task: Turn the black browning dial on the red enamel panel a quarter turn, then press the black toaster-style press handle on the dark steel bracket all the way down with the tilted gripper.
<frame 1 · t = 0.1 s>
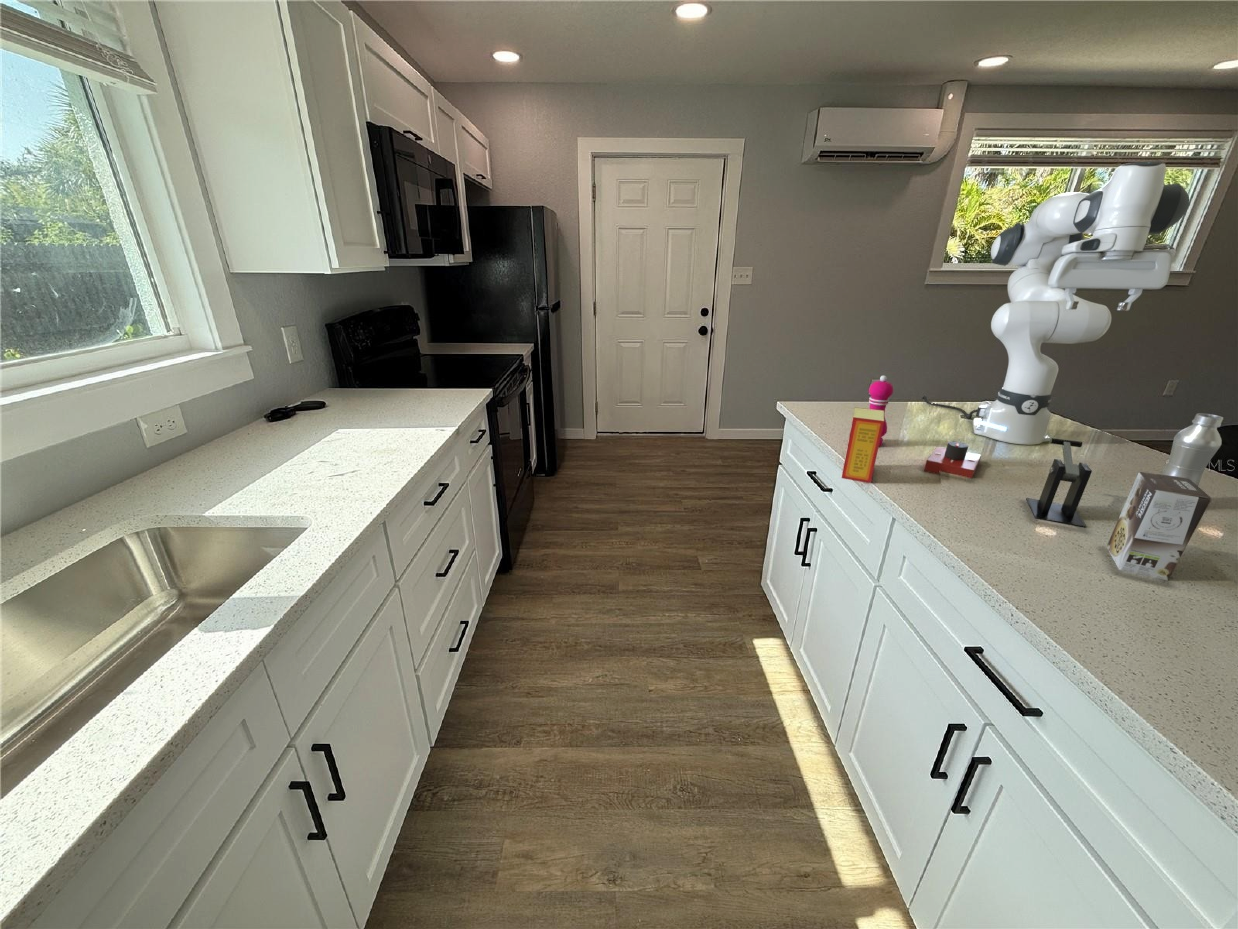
hand: (1096, 310, 112), 39 cm above the counter, tool pointing down, fingers open, 8 cm apart
coffee box: (1133, 567, 86), on the counter
dial panel: (951, 468, 126), on the counter
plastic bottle: (1167, 503, 108), on the counter
baking soda box: (856, 474, 123), on the counter
pepper mill: (869, 443, 143), on the counter
press lever: (1067, 458, 101), point 12 cm above the counter, hinge at 25.0°
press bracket: (1052, 516, 102), on the counter
dial: (956, 450, 124), point 5 cm above the counter, hinge at 0.0°
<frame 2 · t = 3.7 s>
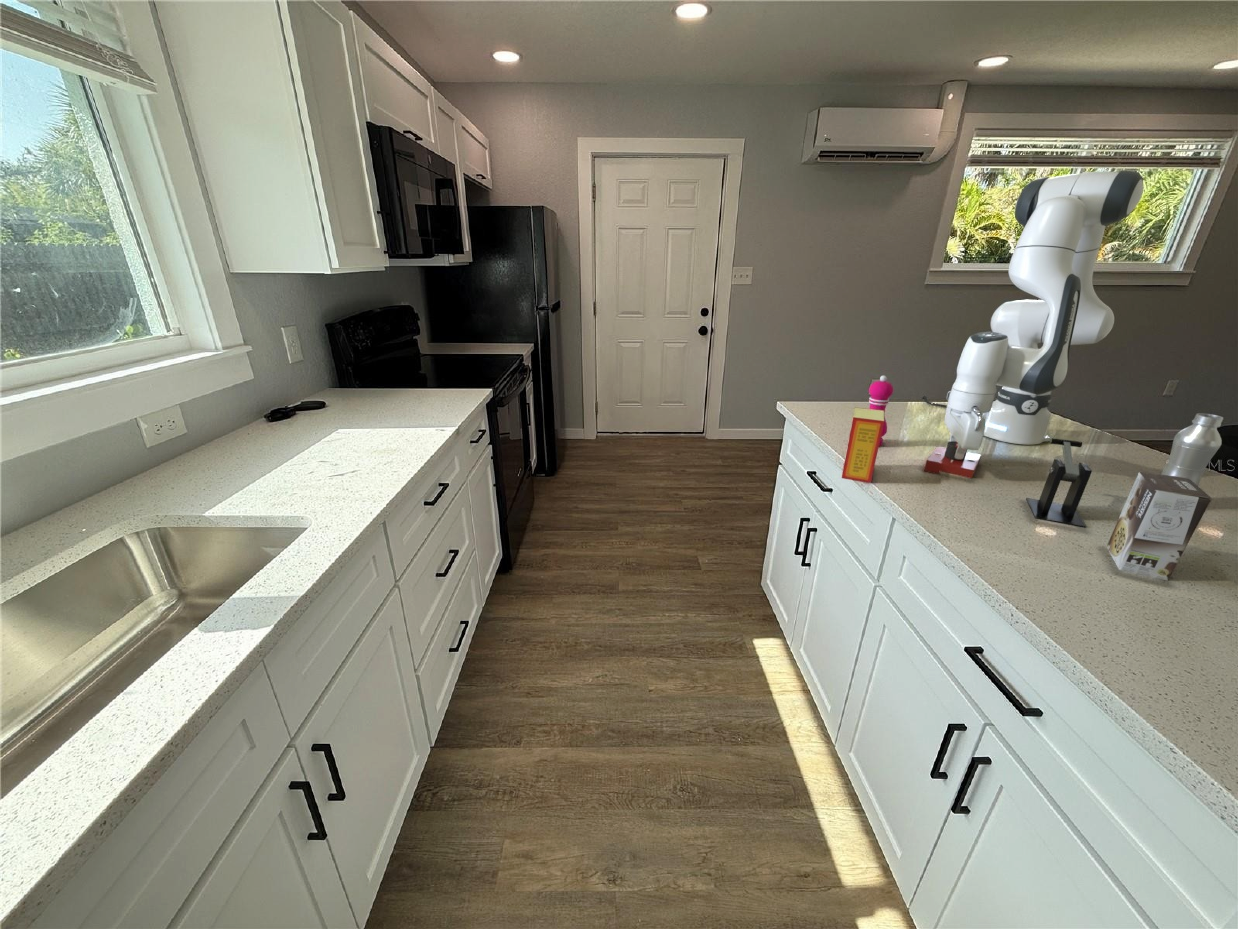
hand: (955, 454, 125), 4 cm above the counter, tool pointing down, fingers closed on dial, 4 cm apart
dial: (956, 450, 124), point 5 cm above the counter, hinge at -0.2°, touching gripper
everything else where it was.
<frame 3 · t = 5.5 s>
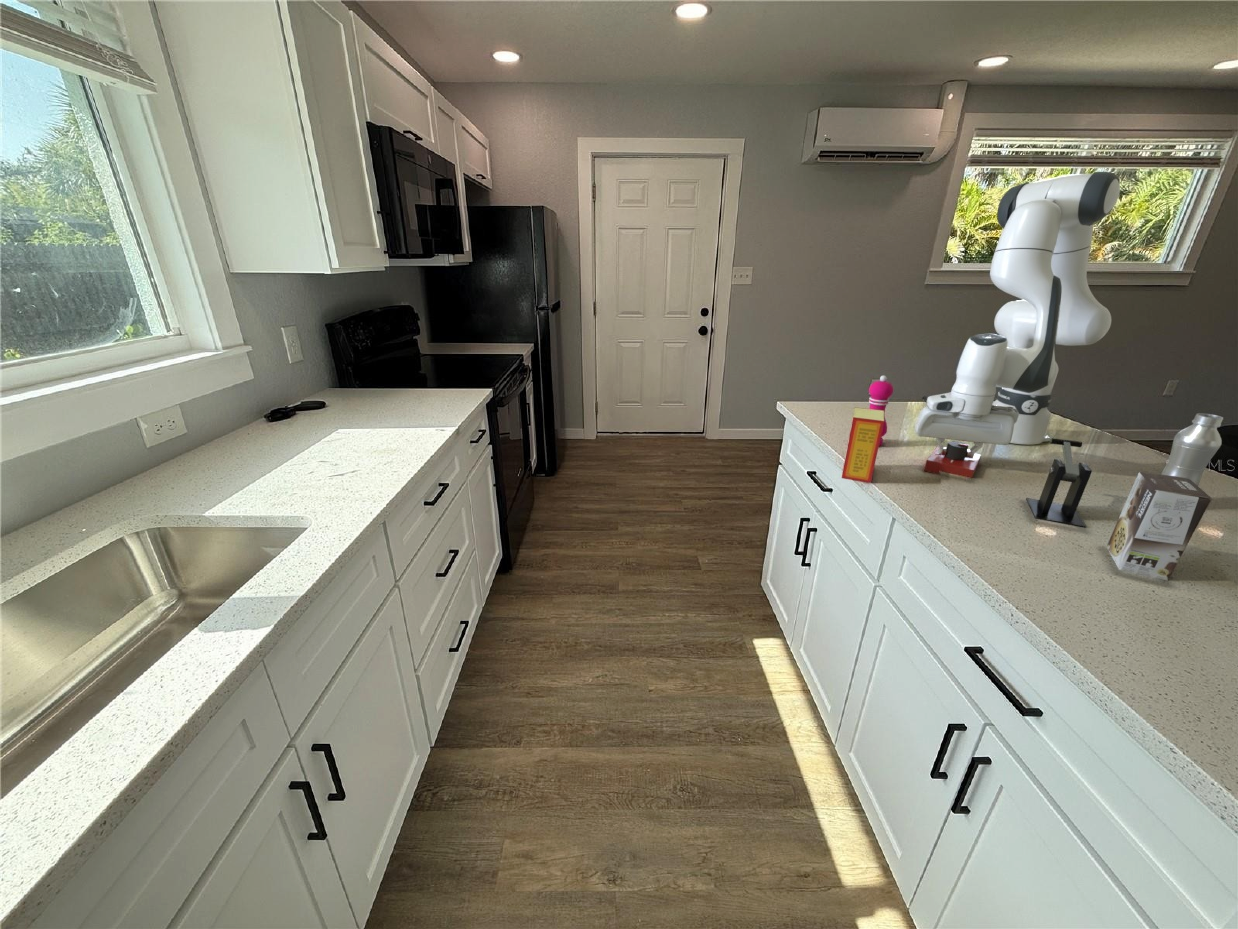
hand: (954, 455, 125), 3 cm above the counter, tool pointing down, fingers open, 4 cm apart
dial: (956, 450, 124), point 5 cm above the counter, hinge at 86.6°
everything else where it was.
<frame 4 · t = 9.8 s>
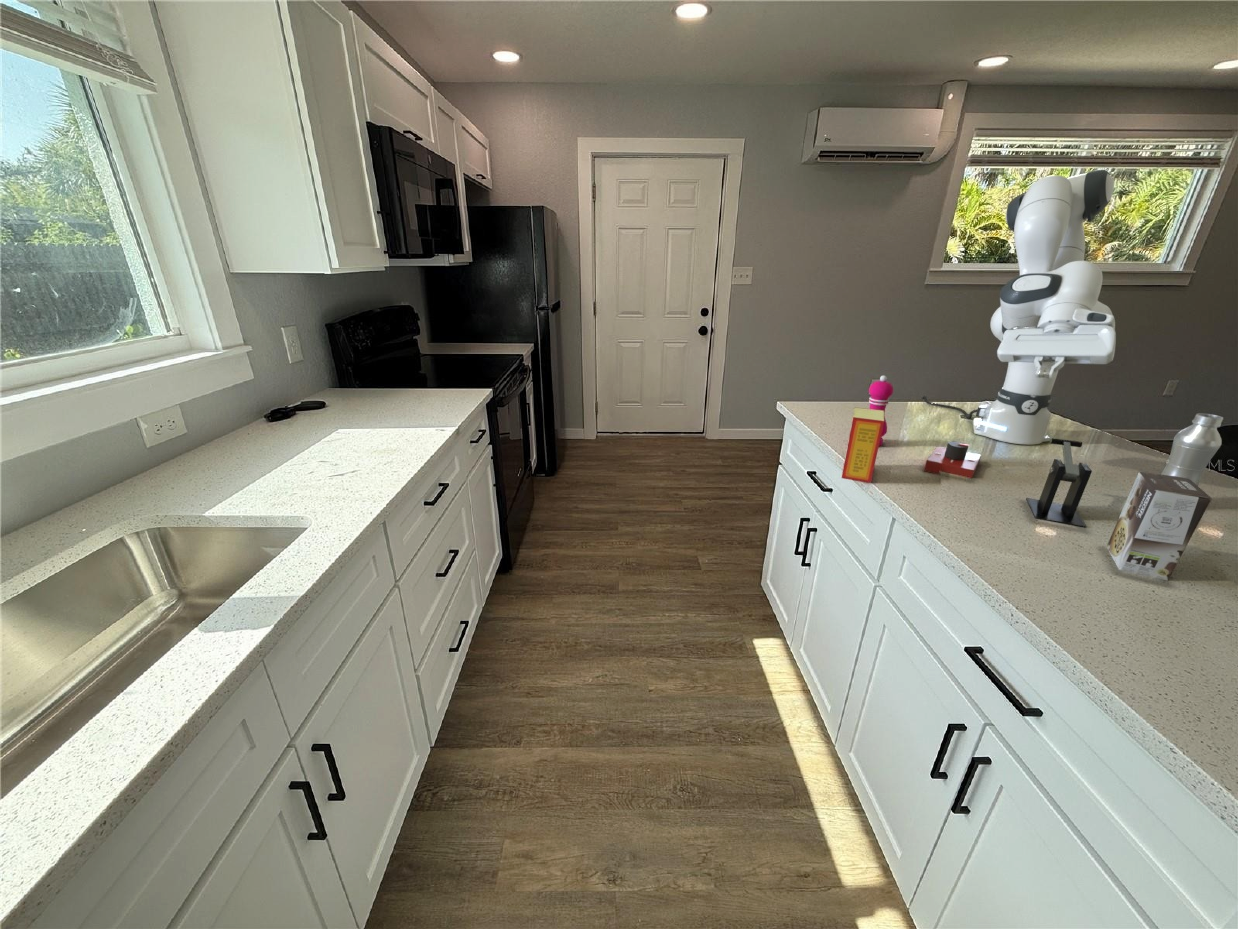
hand: (1043, 376, 110), 25 cm above the counter, tool tilted 40°, fingers closed
nothing on the counter moved.
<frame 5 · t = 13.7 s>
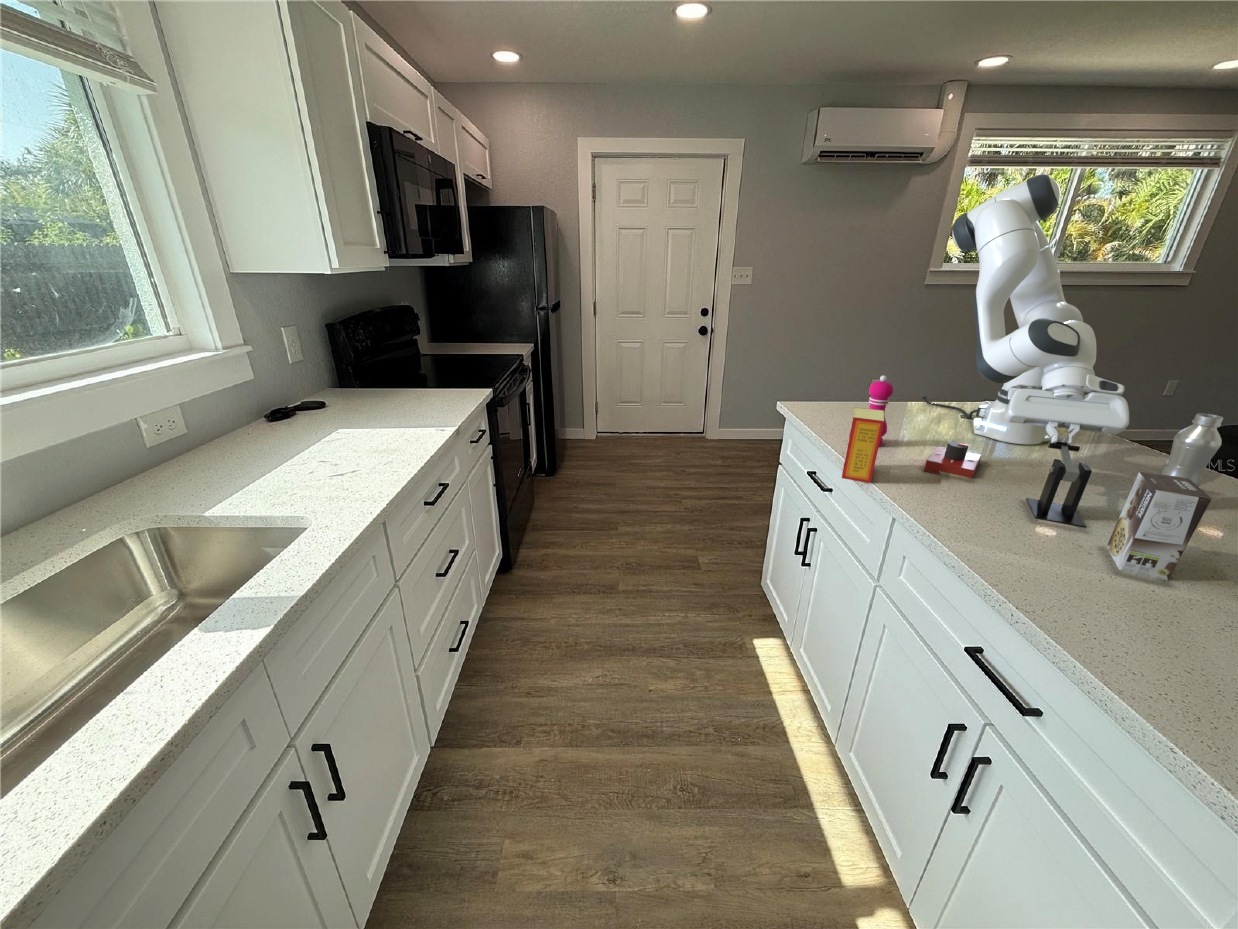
hand: (1061, 444, 105), 13 cm above the counter, tool tilted 45°, fingers closed, pressing on press lever
press lever: (1066, 460, 101), point 11 cm above the counter, hinge at 17.2°, touching gripper
everything else where it was.
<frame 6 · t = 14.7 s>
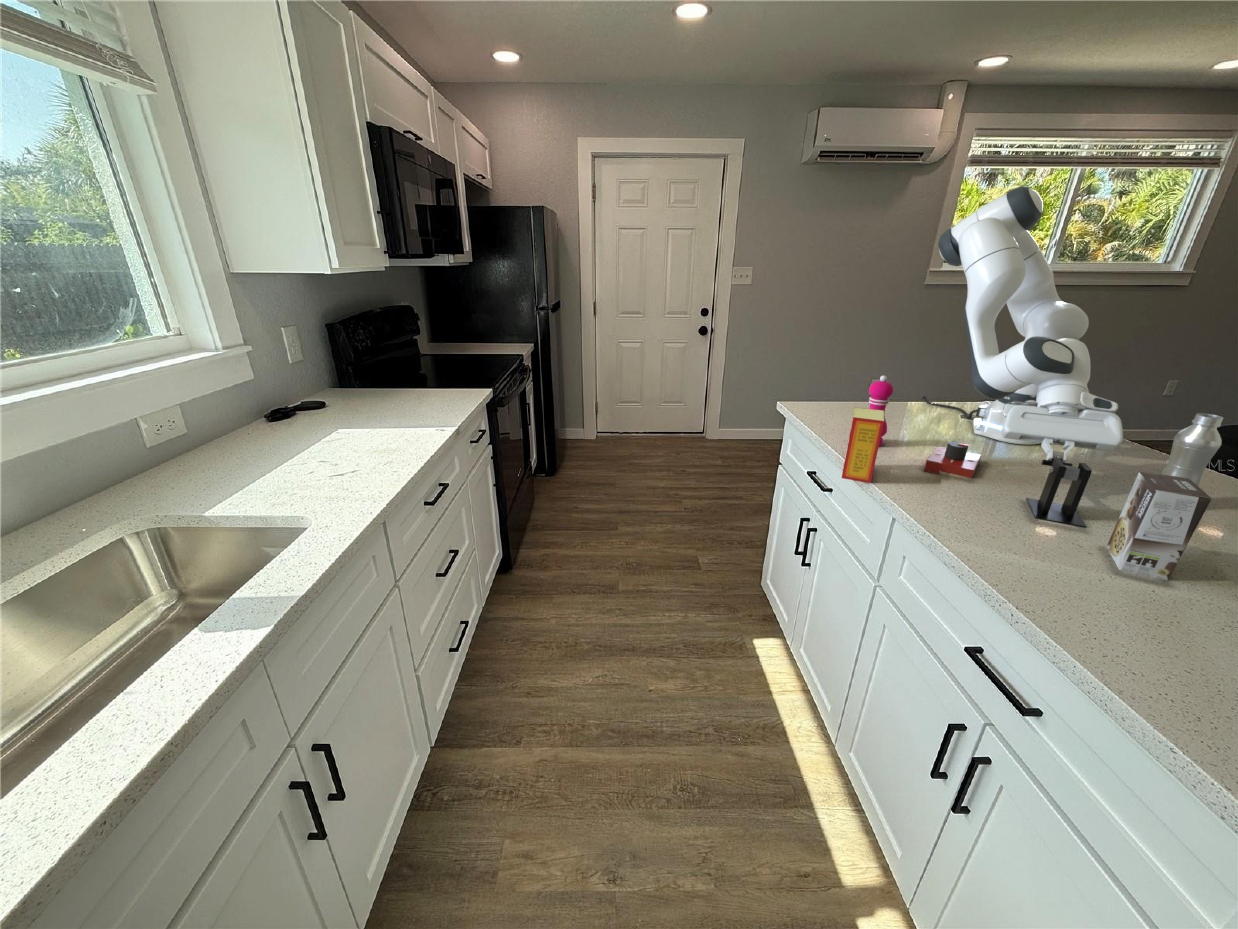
hand: (1056, 460, 106), 9 cm above the counter, tool tilted 45°, fingers closed, pressing on press lever
press lever: (1063, 468, 102), point 9 cm above the counter, hinge at -9.1°, touching gripper
everything else where it was.
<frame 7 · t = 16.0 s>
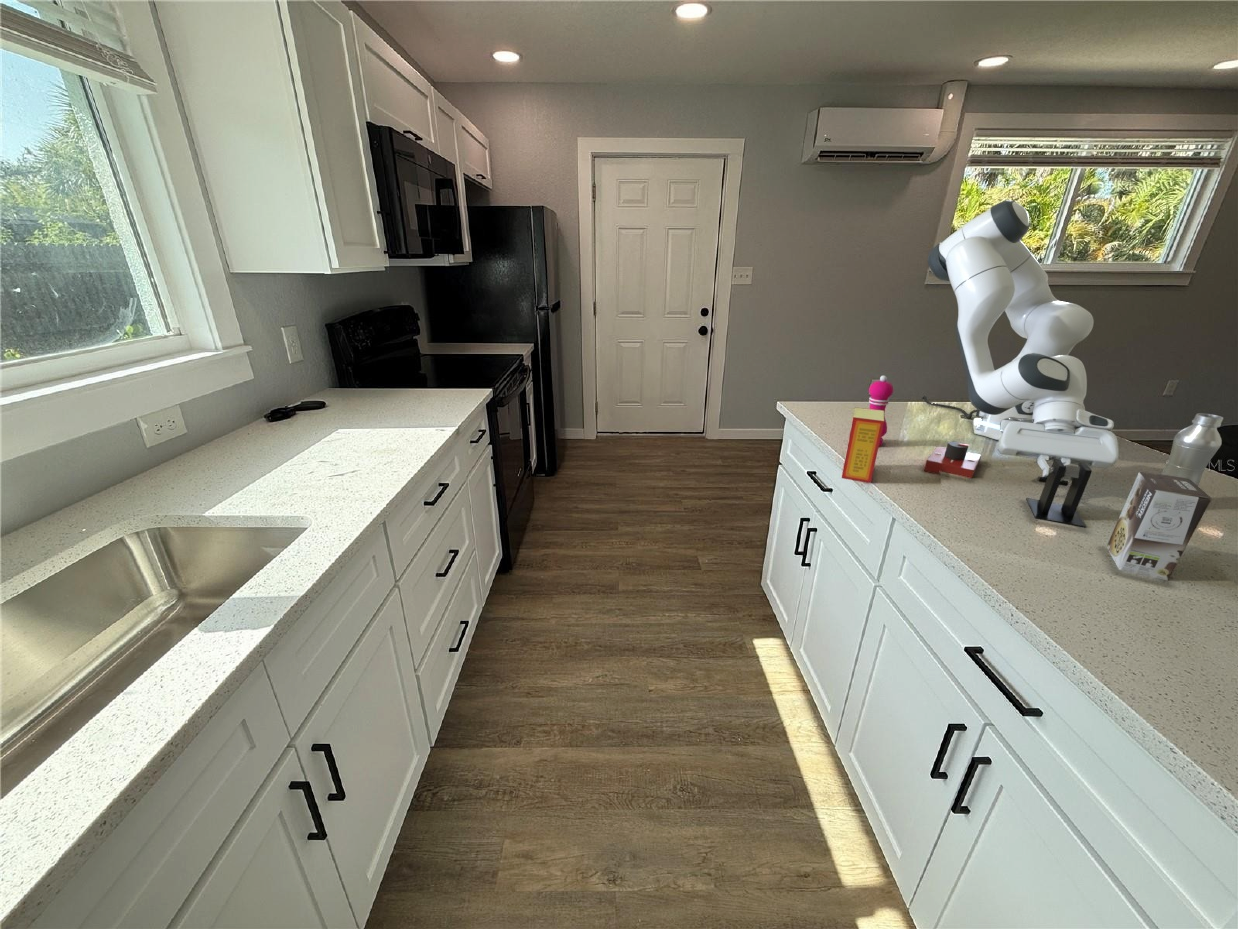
hand: (1052, 477, 106), 6 cm above the counter, tool tilted 45°, fingers closed, pressing on press lever
press lever: (1061, 476, 102), point 8 cm above the counter, hinge at -33.3°, touching gripper
everything else where it was.
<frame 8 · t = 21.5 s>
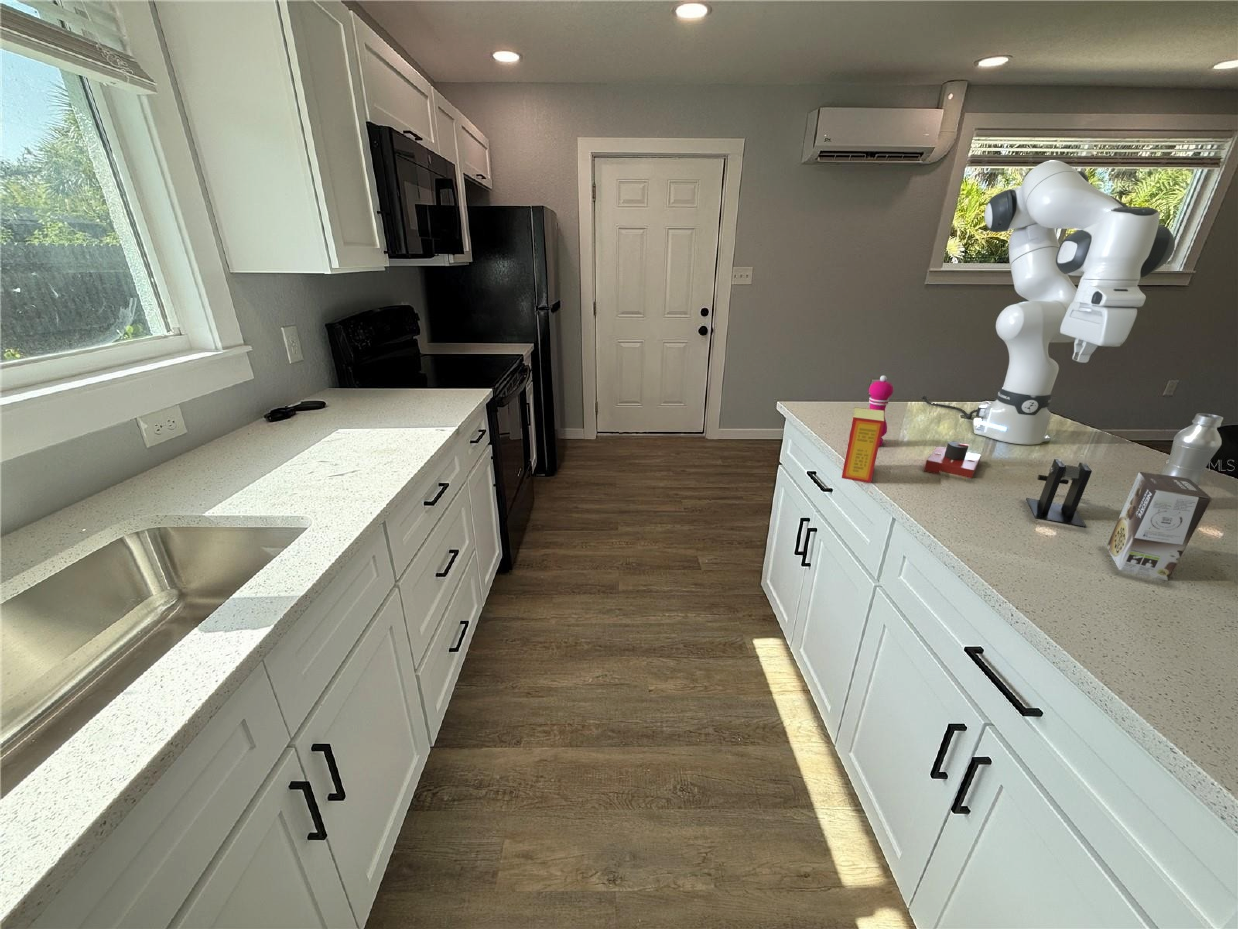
hand: (1079, 361, 106), 29 cm above the counter, tool pointing down, fingers closed
press lever: (1061, 476, 102), point 8 cm above the counter, hinge at -30.9°
everything else where it was.
at the end: dial at +87° (first picture: +0°); press lever at -31° (first picture: +25°) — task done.
